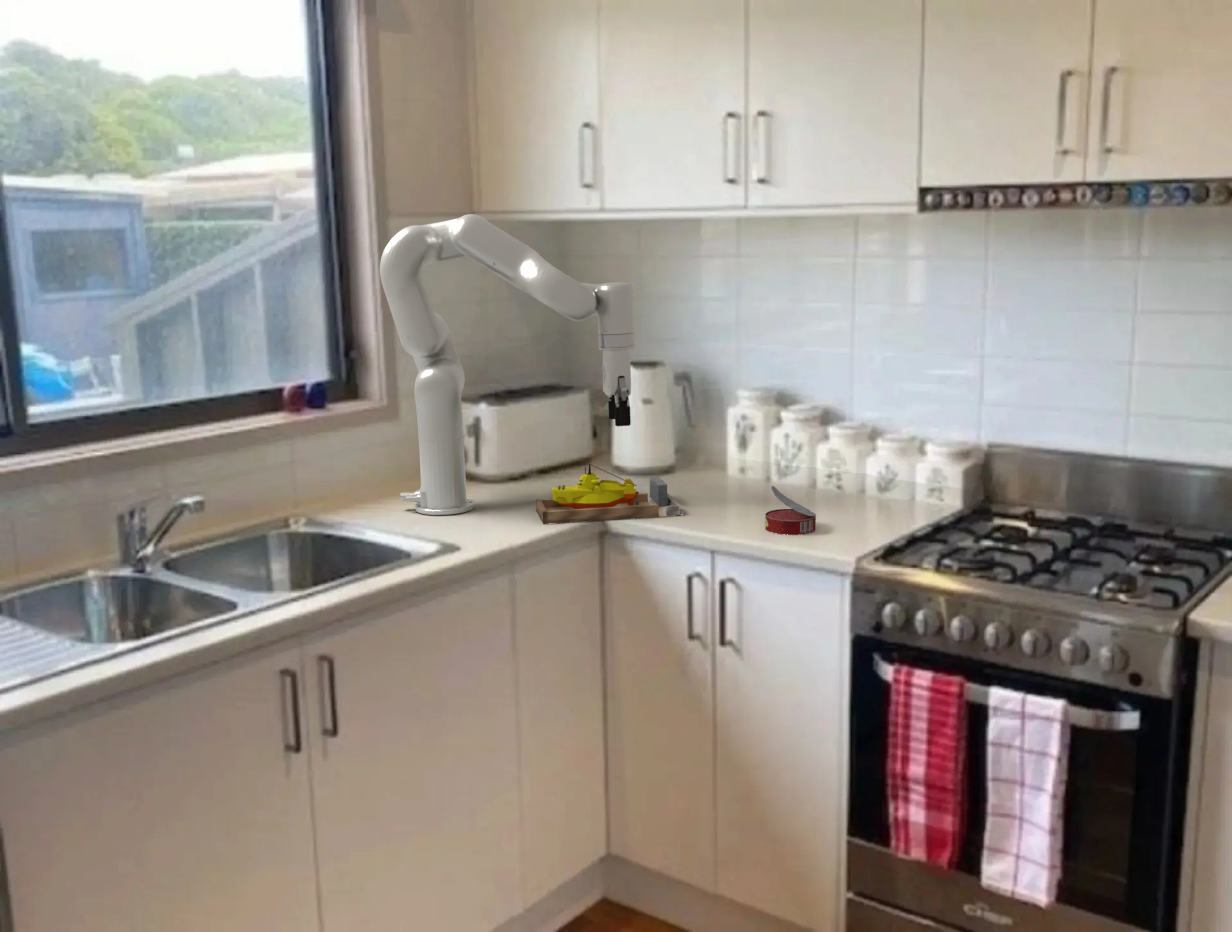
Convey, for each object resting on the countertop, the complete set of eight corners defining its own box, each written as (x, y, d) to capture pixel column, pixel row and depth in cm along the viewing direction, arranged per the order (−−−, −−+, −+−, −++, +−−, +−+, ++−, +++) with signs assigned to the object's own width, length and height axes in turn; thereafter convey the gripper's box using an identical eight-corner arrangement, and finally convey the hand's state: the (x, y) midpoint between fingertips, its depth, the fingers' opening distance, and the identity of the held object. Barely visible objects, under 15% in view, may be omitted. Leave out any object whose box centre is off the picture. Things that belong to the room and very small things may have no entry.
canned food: (780, 545, 243) (791, 498, 245) (822, 548, 236) (832, 500, 238) (747, 529, 236) (758, 480, 238) (789, 531, 228) (800, 481, 231)
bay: (543, 524, 245) (542, 512, 244) (531, 502, 265) (531, 491, 264) (684, 515, 250) (684, 503, 249) (663, 494, 270) (663, 483, 269)
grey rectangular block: (658, 505, 258) (658, 485, 257) (649, 496, 267) (649, 476, 266) (667, 505, 259) (667, 484, 258) (658, 496, 267) (658, 476, 267)
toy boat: (639, 512, 249) (638, 465, 248) (552, 514, 249) (550, 467, 247) (638, 505, 256) (637, 459, 254) (553, 507, 256) (551, 461, 254)
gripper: (593, 339, 262) (597, 417, 265) (604, 346, 245) (607, 429, 248) (628, 337, 263) (630, 415, 266) (640, 344, 246) (643, 427, 249)
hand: (619, 422), depth 257 cm, fingers open, 9 cm apart
